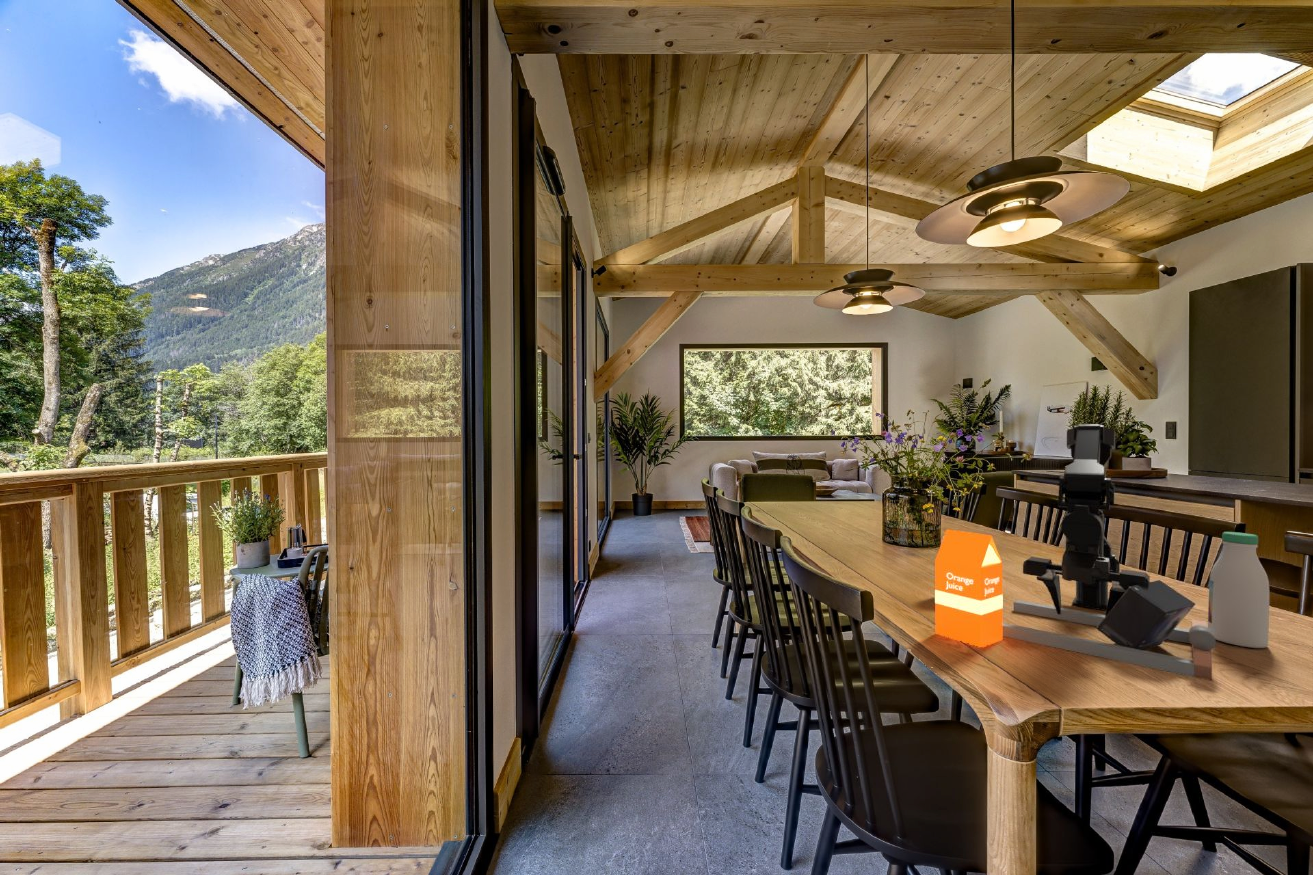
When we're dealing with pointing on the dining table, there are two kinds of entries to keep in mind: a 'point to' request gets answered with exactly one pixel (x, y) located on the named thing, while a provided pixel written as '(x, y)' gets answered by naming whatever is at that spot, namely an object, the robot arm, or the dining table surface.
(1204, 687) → the dining table surface
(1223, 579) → the milk bottle
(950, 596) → the orange juice
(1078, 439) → the robot arm
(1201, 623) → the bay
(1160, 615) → the small box
